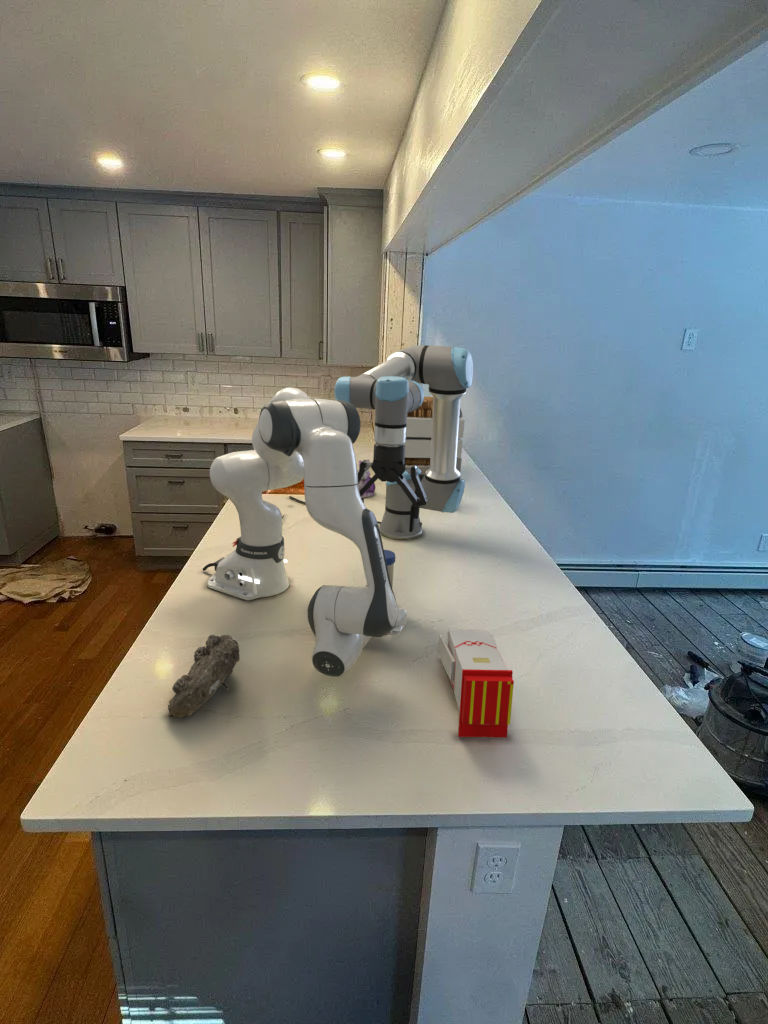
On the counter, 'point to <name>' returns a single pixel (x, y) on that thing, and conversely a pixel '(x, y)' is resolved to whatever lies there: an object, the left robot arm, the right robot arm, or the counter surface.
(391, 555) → the lid
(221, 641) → the fossil
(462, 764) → the counter surface
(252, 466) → the left robot arm
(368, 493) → the figurine
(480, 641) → the toy
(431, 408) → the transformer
